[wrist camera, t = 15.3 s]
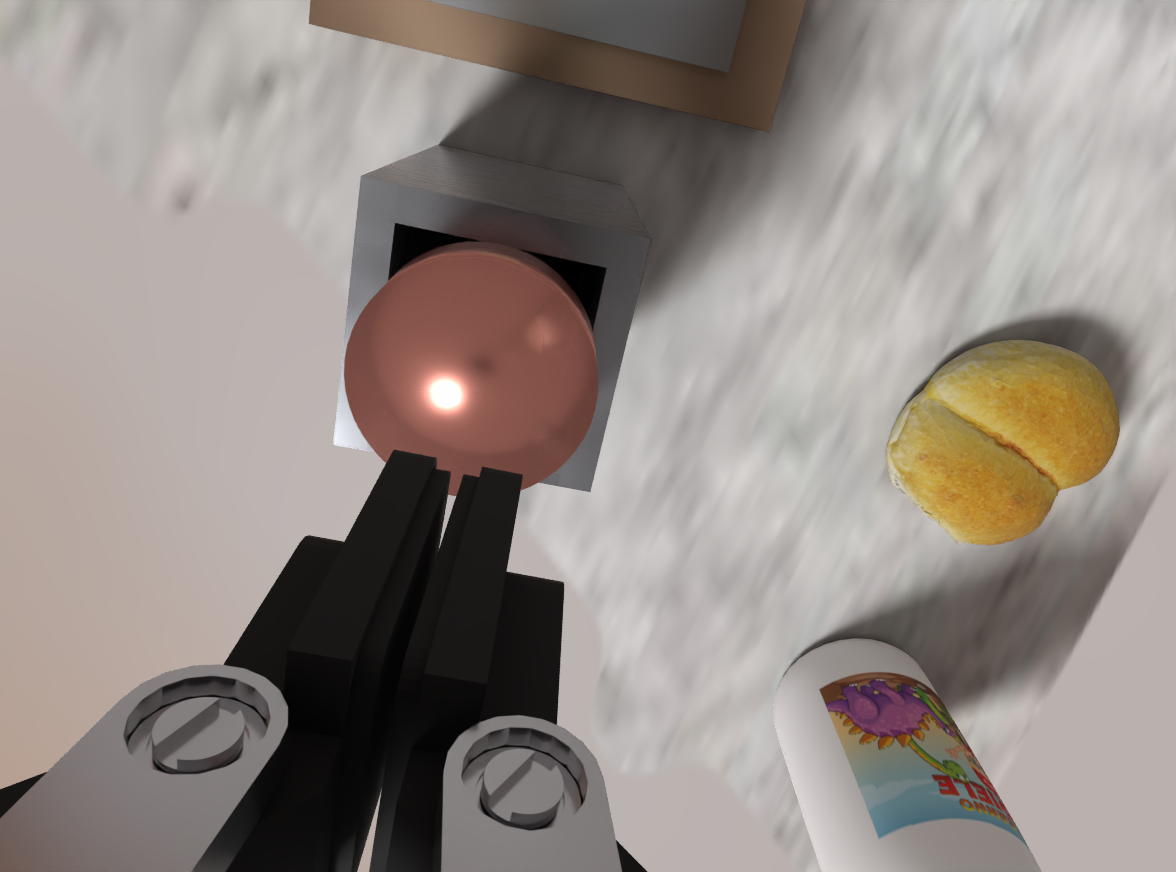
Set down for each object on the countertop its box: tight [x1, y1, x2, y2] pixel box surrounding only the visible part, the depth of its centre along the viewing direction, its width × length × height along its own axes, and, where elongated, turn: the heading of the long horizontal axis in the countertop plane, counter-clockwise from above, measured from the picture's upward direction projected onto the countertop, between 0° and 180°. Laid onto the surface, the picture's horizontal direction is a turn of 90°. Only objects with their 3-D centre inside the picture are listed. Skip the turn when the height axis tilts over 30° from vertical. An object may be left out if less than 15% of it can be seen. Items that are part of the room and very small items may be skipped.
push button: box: [344, 238, 598, 496], centre depth 22 cm, size 6×6×9 cm
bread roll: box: [886, 340, 1120, 545], centre depth 33 cm, size 8×9×4 cm
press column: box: [334, 145, 651, 492], centre depth 26 cm, size 7×7×12 cm
